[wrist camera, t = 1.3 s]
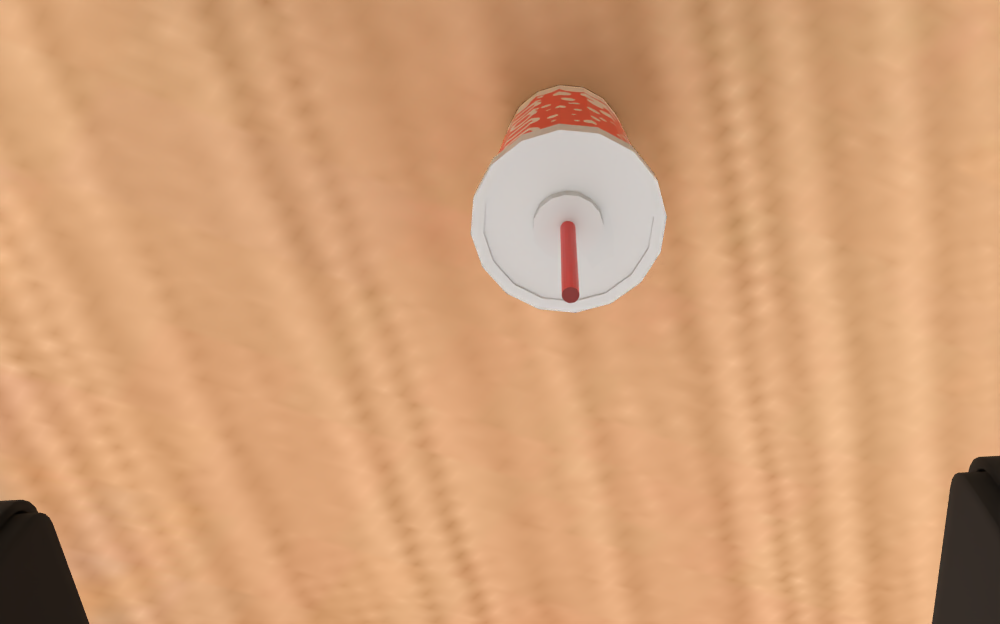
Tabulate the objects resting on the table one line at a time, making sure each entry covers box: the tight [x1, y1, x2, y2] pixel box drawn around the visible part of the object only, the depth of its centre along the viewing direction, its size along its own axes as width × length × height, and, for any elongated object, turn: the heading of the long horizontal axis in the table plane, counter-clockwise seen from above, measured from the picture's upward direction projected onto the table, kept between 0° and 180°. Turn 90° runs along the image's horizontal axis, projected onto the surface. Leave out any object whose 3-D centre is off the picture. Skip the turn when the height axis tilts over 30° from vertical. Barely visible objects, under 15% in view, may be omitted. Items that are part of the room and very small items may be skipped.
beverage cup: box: [471, 85, 667, 313], centre depth 31 cm, size 6×6×14 cm
